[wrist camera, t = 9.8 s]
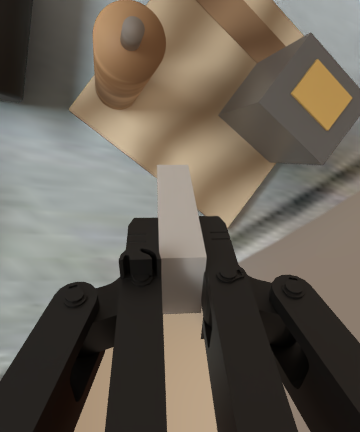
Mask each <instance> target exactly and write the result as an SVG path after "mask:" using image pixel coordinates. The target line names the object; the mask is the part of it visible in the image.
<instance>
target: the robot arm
mask: <svg viewBox="0 0 360 432" xmlns="http://www.w3.org/2000/svg"><path fill="white" fill-rule="evenodd" d="M157 207H158V218H134V219H133V220H132V222H131V223H130V224H129V226H128V236H127V245H126V250H125V251H124V252H123V253H122V254H121V256H120V258H119V268H120V277H119V278H118V279H117V280H116V281H114V282H113V283H111V284H108V285H106V286H103V287H99V288H94V287H93V286H92V285H91V284H89V283H86V282H74V283H71V284H67V285H66V286H64V287H62V288H61V289H60V290H59V291H58V292H57V293H56V294H55V295H54V297H53V298H52V300H51V302H50V303H49V305H48V306H47V308H46V309H45V311H44V313H43V314H42V316H41V317H40V319H39V321H38V322H37V324H36V325H35V327H34V329H33V330H32V332H31V333H30V335H29V336H28V338H27V340H26V341H25V343H24V344H23V346H22V348H21V349H20V351H19V352H18V354H17V356H16V357H15V359H14V360H13V362H12V363H11V365H10V367H9V368H8V370H7V371H6V373H5V375H4V376H3V378H2V379H1V381H0V432H74V430H75V427H76V424H77V422H78V419H79V417H80V414H81V412H82V409H83V407H84V404H85V402H86V399H87V396H88V394H89V391H90V389H91V386H92V383H93V381H94V379H95V376H96V373H97V371H98V368H99V366H100V363H101V361H102V358H103V356H104V353H105V350H106V349H109V348H111V347H114V348H113V358H112V368H111V377H110V387H109V397H108V406H107V417H106V427H105V432H167V421H166V420H167V419H166V391H165V364H164V337H163V336H164V335H163V314H178V313H201V308H202V310H203V324H202V334H201V339H204V340H205V347H206V354H207V361H208V368H209V375H210V382H211V389H212V395H213V403H214V409H215V417H216V423H217V430H218V432H298V430H297V427H296V424H295V421H294V418H293V415H292V411H291V408H290V406H289V402H288V399H287V396H286V393H285V390H284V387H283V384H284V386H285V388H286V390H287V391H288V393H289V395H290V396H291V398H292V400H293V402H294V404H295V405H296V407H297V409H298V411H299V412H300V414H301V416H302V417H303V419H304V421H305V423H306V424H307V426H308V428H309V430H310V431H311V432H360V343H359V342H358V341H357V339H356V338H355V337H354V336H353V335H352V334H351V332H350V331H349V330H348V329H347V328H346V327H345V325H344V324H343V323H342V322H341V321H340V319H339V318H338V317H337V316H336V315H335V314H334V312H333V311H332V310H331V309H330V308H329V306H327V304H326V303H325V302H324V301H323V299H322V298H321V297H320V296H319V295H318V294H317V292H316V291H315V290H314V289H313V288H312V286H311V285H310V284H308V283H307V282H306V281H305V280H303V279H301V278H299V277H297V276H292V275H281V276H279V277H277V278H275V280H274V281H273V282H272V283H270V282H266V281H261V280H257V279H254V278H252V277H250V276H248V275H247V274H246V272H245V270H244V269H243V268H241V267H240V266H239V265H238V262H237V259H236V256H235V252H234V249H233V246H232V243H231V240H230V236H229V233H228V230H227V226H226V223H225V222H224V221H223V220H222V219H221V218H220V217H219V216H198V211H197V206H196V201H195V196H194V191H193V186H192V181H191V176H190V171H189V166H188V165H157ZM282 383H283V384H282Z"/></svg>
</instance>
